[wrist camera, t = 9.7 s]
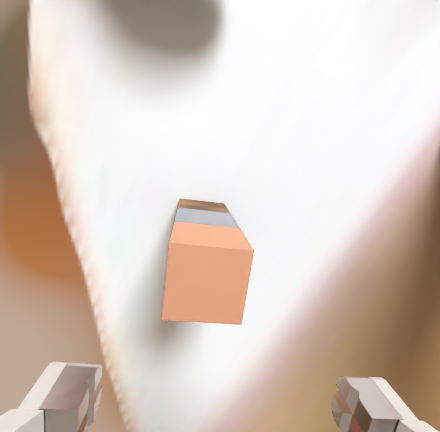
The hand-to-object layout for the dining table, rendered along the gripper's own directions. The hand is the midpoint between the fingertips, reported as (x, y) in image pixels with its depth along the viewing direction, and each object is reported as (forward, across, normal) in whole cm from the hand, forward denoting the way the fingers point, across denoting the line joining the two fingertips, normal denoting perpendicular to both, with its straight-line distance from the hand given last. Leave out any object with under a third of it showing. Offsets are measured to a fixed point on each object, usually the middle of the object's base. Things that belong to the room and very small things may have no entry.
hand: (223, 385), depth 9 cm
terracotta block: (+12, 0, 0) cm, 12 cm away
